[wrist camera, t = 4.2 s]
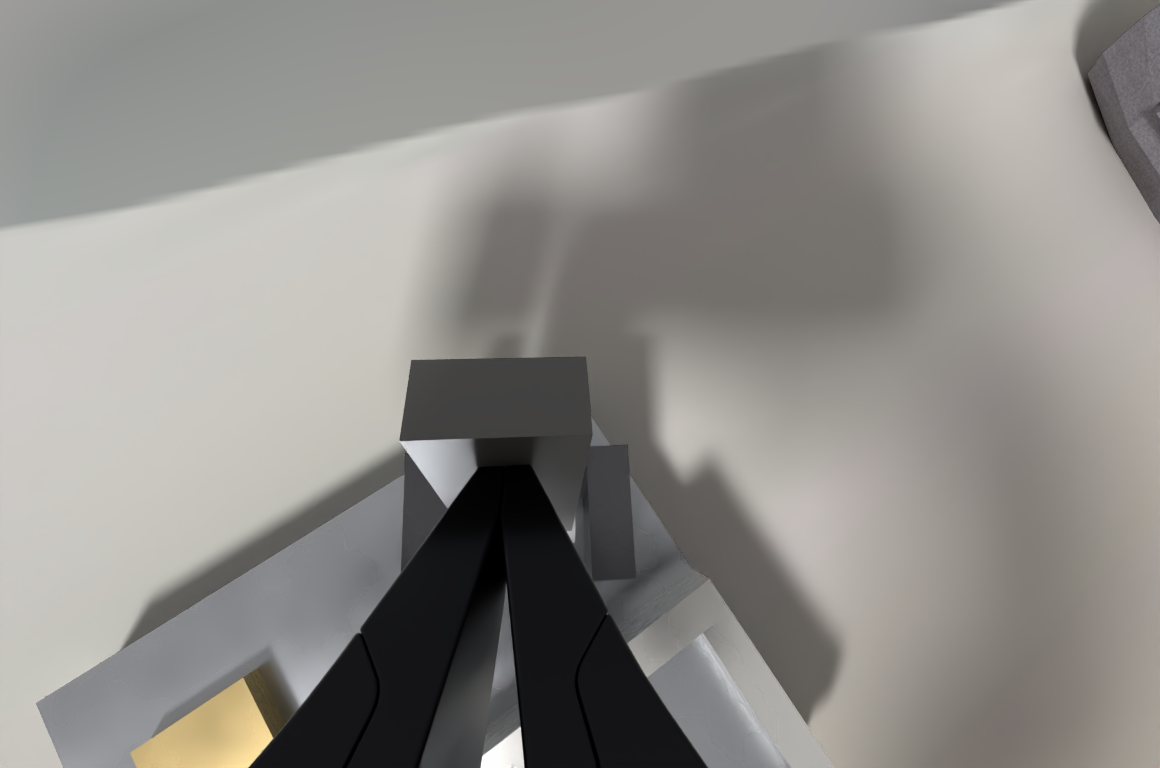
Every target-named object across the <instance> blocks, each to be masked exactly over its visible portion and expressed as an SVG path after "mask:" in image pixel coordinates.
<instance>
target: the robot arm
mask: <svg viewBox="0 0 1160 768" xmlns="http://www.w3.org/2000/svg"><path fill="white" fill-rule="evenodd" d="M506 584H507V594H508V605H509V615H510V625H511V635H512V645H513V656H514V666H515V676H516V686H517V696H518V707H519V717H520V727H521V737H522V747H523V758H524V768H708V766H707V765H706V763H705V762H704V760H703V759H702V758H701V756H700V755H699V753H698V752H697V750H696V749H695V748H694V746H693V745H692V743H691V742H690V740H689V739H688V737H687V736H686V735H685V733H684V732H683V730H682V729H681V727H680V726H679V725H678V723H677V722H676V720H675V719H674V717H673V716H672V714H671V713H670V712H669V710H668V709H667V707H666V706H665V704H664V702H663V701H662V699H661V698H660V696H659V695H658V693H657V692H656V690H655V689H654V687H653V686H652V684H651V683H650V681H649V679H648V678H647V676H646V675H645V673H644V672H643V670H642V668H641V667H640V665H639V663H638V661H637V660H636V658H635V656H634V654H633V653H632V651H631V649H630V648H629V646H628V644H627V642H626V641H625V639H624V637H623V635H622V633H621V632H620V630H619V628H618V626H617V624H616V622H615V620H614V618H613V617H612V615H611V614H609V610H608V608H607V606H606V604H605V602H604V600H603V598H602V597H601V595H600V593H599V591H598V589H597V587H596V585H595V583H594V582H593V580H592V578H591V576H590V574H589V572H588V570H587V568H586V567H585V565H584V563H583V561H582V559H581V557H580V555H579V553H578V552H577V550H576V548H575V546H574V544H573V542H572V540H571V538H570V537H569V535H568V533H567V531H566V529H565V527H564V525H563V524H562V522H561V520H560V518H559V516H558V514H557V512H556V510H555V509H554V507H553V505H552V503H551V501H550V499H549V497H548V495H547V494H546V492H545V490H544V488H543V486H542V484H541V482H540V480H539V479H538V477H537V475H536V473H535V471H534V469H533V467H532V466H531V465H512V466H506V467H503V466H488V467H478V468H477V470H476V471H475V472H474V474H473V475H472V476H471V478H470V479H469V481H468V482H467V483H466V485H465V486H464V487H463V489H462V490H461V491H460V493H459V494H458V495H457V497H456V498H455V500H454V501H453V502H452V504H451V505H450V506H449V508H448V509H447V510H446V512H445V513H444V515H443V516H442V517H441V519H440V520H439V521H438V523H437V524H436V525H435V527H434V528H433V529H432V531H431V532H430V534H429V535H428V536H427V538H426V539H425V540H424V542H423V543H422V544H421V546H420V547H419V549H418V550H417V551H416V553H415V554H414V555H413V557H412V558H411V559H410V561H409V562H408V563H407V565H406V566H405V568H404V569H403V570H402V572H401V573H400V574H399V576H398V577H397V578H396V580H395V581H394V583H393V584H392V585H391V587H390V588H389V589H388V591H387V592H386V593H385V595H384V596H383V597H382V599H381V600H380V602H379V603H378V604H377V606H376V607H375V608H374V610H373V611H372V612H371V614H370V615H369V617H368V618H367V619H366V621H365V622H364V623H363V625H362V626H361V628H360V632H361V633H356V634H355V635H354V636H353V638H352V639H351V641H350V642H349V643H348V645H347V646H346V647H345V649H344V650H343V652H342V653H341V654H340V656H339V657H338V658H337V660H336V661H335V662H334V664H333V665H332V666H331V668H330V669H329V670H328V671H327V673H326V674H325V675H324V677H323V678H322V679H321V680H320V682H319V683H318V684H317V686H316V687H315V688H314V690H313V691H312V692H311V693H310V695H309V696H308V697H307V699H306V700H305V701H304V702H303V704H302V705H301V706H300V707H299V708H298V709H297V711H296V712H295V713H294V714H293V715H292V717H291V718H290V719H289V720H288V721H287V723H286V724H285V725H284V726H283V727H282V728H281V730H280V731H279V732H278V733H277V734H276V736H275V737H274V738H273V739H272V740H271V742H270V743H269V744H268V745H267V746H266V748H265V749H264V750H263V751H262V752H261V753H260V754H259V756H258V757H257V758H256V759H255V760H254V761H253V763H252V764H251V765H250V766H249V767H248V768H481V762H482V755H483V748H484V741H485V734H486V727H487V720H488V713H489V706H490V699H491V692H492V685H493V678H494V671H495V664H496V657H497V650H498V643H499V636H500V629H501V622H502V615H503V608H504V601H505V593H506Z"/></svg>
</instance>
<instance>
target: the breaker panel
mask: <svg viewBox="0 0 1160 768" xmlns="http://www.w3.org/2000/svg"><path fill="white" fill-rule="evenodd" d="M591 420H592V432H593V435H592V440H591V445H590V449H589V454H588V458H587V463H586V468H585V472H584V477H583V481H582V486H581V490H580V495H579V500H578V504H577V509H576V513H575V543H573V544H574V546H575V548H576V550H577V552H578V553H579V555H580V557H581V559H582V561H583V563H584V565H585V567H586V568H587V570H588V572H589V574H590V576H591V578H592V580H593V582H594V583H595V585H596V587H597V589H598V591H599V593H600V595H601V597H602V598H603V600H604V602H605V604H606V606H607V608H608V610H609V614H611V615H612V617H613V618H614V620H615V622H616V624H617V626H618V628H619V630H620V632H621V633H622V635H623V637H624V639H625V641H626V642H627V644H628V646H629V648H630V649H631V651H632V653H633V654H634V656H635V658H636V660H637V661H638V663H639V665H640V667H641V668H642V670H643V672H644V673H645V675H646V676H647V678H648V679H649V681H650V683H651V684H652V686H653V687H654V689H655V690H656V692H657V693H658V695H659V696H660V698H661V699H662V701H663V702H664V704H665V706H666V707H667V709H668V710H669V712H670V713H671V714H672V716H673V717H674V719H675V720H676V722H677V723H678V725H679V726H680V727H681V729H682V730H683V732H684V733H685V735H686V736H687V737H688V739H689V740H690V742H691V743H692V745H693V746H694V748H695V749H696V750H697V752H698V753H699V755H700V756H701V758H702V759H703V760H704V762H705V763H706V765H707V766H708V768H835V766H834V765H833V763H832V762H831V760H830V759H829V757H828V756H827V754H826V753H825V751H824V750H823V748H822V747H821V745H820V744H819V742H818V741H817V739H816V738H815V736H814V735H813V733H812V732H811V730H810V729H809V727H808V726H807V724H806V723H805V721H804V720H803V718H802V717H801V715H800V714H799V712H798V711H797V709H796V708H795V706H794V705H793V703H792V702H791V700H790V699H789V697H788V696H787V694H786V693H785V691H784V690H783V688H782V687H781V685H780V684H779V682H778V681H777V679H776V678H775V676H774V675H773V673H772V672H771V670H770V669H769V667H768V666H767V664H766V663H765V661H764V660H763V658H762V657H761V655H760V654H759V652H758V651H757V649H756V648H755V646H754V645H753V643H752V641H751V640H750V638H749V637H748V635H747V634H746V632H745V631H744V629H743V628H742V626H741V625H740V623H739V622H738V620H737V619H736V617H735V616H734V614H733V613H732V611H731V610H730V608H729V607H728V605H727V604H726V602H725V601H724V599H723V598H722V596H721V595H720V593H719V592H718V590H717V589H716V587H715V586H714V584H713V583H712V581H711V580H710V579H709V578H707V577H706V576H704V575H702V574H701V573H699V572H697V571H696V570H694V569H692V567H691V566H690V564H689V563H688V561H687V560H686V558H685V557H684V555H683V554H682V552H681V551H680V549H679V548H678V546H677V544H676V543H675V541H674V540H673V538H672V537H671V535H670V534H669V532H668V531H667V529H666V528H665V526H664V525H663V523H662V522H661V520H660V519H659V517H658V516H657V514H656V513H655V511H654V510H653V508H652V507H651V505H650V504H649V502H648V501H647V499H646V498H645V496H644V495H643V493H642V492H641V490H640V489H639V487H638V486H637V484H636V483H635V481H634V480H633V478H632V477H631V475H630V474H629V458H628V445H610V443H609V442H608V440H607V439H606V437H605V436H604V434H603V433H602V431H601V430H600V428H599V427H598V425H597V424H596V422H595V421H594V419H593V418H592V416H591ZM447 509H448V508H447V507H446V506H445V504H444V503H443V501H442V500H441V499H440V497H439V496H438V494H437V493H436V492H435V490H434V489H433V487H432V486H431V485H430V483H429V482H428V480H427V479H426V478H425V476H424V475H423V473H422V472H421V471H420V469H419V468H418V466H417V465H416V464H415V462H414V461H413V459H412V458H411V457H410V455H409V454H408V453H405V473H404V475H402V476H400V477H399V478H397V479H395V480H394V481H392V482H391V483H389V484H387V485H386V486H384V487H383V488H381V489H379V490H378V491H376V492H375V493H373V494H371V495H370V496H368V497H367V498H365V499H363V500H362V501H360V502H359V503H357V504H355V505H354V506H352V507H350V508H349V509H347V510H346V511H344V512H342V513H341V514H339V515H338V516H336V517H334V518H333V519H331V520H330V521H328V522H326V523H325V524H323V525H322V526H320V527H318V528H317V529H315V530H314V531H312V532H310V533H309V534H307V535H305V536H304V537H302V538H301V539H299V540H297V541H296V542H294V543H293V544H291V545H289V546H288V547H286V548H285V549H283V550H281V551H280V552H278V553H277V554H275V555H273V556H272V557H270V558H269V559H267V560H265V561H264V562H262V563H260V564H259V565H257V566H256V567H254V568H252V569H251V570H249V571H248V572H246V573H244V574H243V575H241V576H240V577H238V578H236V579H235V580H233V581H232V582H230V583H228V584H227V585H225V586H224V587H222V588H220V589H219V590H217V591H215V592H214V593H212V594H211V595H209V596H207V597H206V598H204V599H203V600H201V601H199V602H198V603H196V604H195V605H193V606H191V607H190V608H188V609H187V610H185V611H183V612H182V613H180V614H179V615H177V616H175V617H174V618H172V619H170V620H169V621H167V622H166V623H164V624H162V625H161V626H159V627H158V628H156V629H154V630H153V631H151V632H150V633H148V634H146V635H145V636H143V637H142V638H140V639H138V640H137V641H135V642H134V643H132V644H130V645H129V646H127V647H125V648H124V649H122V650H121V651H119V652H117V653H116V654H114V655H113V656H111V657H109V658H108V659H106V660H105V661H103V662H101V663H100V664H98V665H97V666H95V667H93V668H92V669H90V670H89V671H87V672H85V673H84V674H82V675H80V676H79V677H77V678H76V679H74V680H72V681H71V682H69V683H68V684H66V685H64V686H63V687H61V688H60V689H58V690H56V691H55V692H53V693H52V694H50V695H48V696H47V697H45V698H44V699H42V700H40V701H39V702H37V703H36V704H37V707H38V709H39V711H40V714H41V716H42V718H43V721H44V723H45V726H46V728H47V730H48V733H49V735H50V737H51V740H52V742H53V744H54V747H55V749H56V751H57V754H58V756H59V758H60V761H61V763H62V765H63V768H248V767H249V766H250V765H251V764H252V763H253V761H254V760H255V759H256V758H257V757H258V756H259V754H260V753H261V752H262V751H263V750H264V749H265V748H266V746H267V745H268V744H269V743H270V742H271V740H272V739H273V738H274V737H275V736H276V734H277V733H278V732H279V731H280V730H281V728H282V727H283V726H284V725H285V724H286V723H287V721H288V720H289V719H290V718H291V717H292V715H293V714H294V713H295V712H296V711H297V709H298V708H299V707H300V706H301V705H302V704H303V702H304V701H305V700H306V699H307V697H308V696H309V695H310V693H311V692H312V691H313V690H314V688H315V687H316V686H317V684H318V683H319V682H320V680H321V679H322V678H323V677H324V675H325V674H326V673H327V671H328V670H329V669H330V668H331V666H332V665H333V664H334V662H335V661H336V660H337V658H338V657H339V656H340V654H341V653H342V652H343V650H344V649H345V647H346V646H347V645H348V643H349V642H350V641H351V639H352V638H353V636H354V635H355V634H356V633H361V632H360V628H361V626H362V625H363V623H364V622H365V621H366V619H367V618H368V617H369V615H370V614H371V612H372V611H373V610H374V608H375V607H376V606H377V604H378V603H379V602H380V600H381V599H382V597H383V596H384V595H385V593H386V592H387V591H388V589H389V588H390V587H391V585H392V584H393V583H394V581H395V580H396V578H397V577H398V576H399V574H400V573H401V572H402V570H403V569H404V568H405V566H406V565H407V563H408V562H409V561H410V559H411V558H412V557H413V555H414V554H415V553H416V551H417V550H418V549H419V547H420V546H421V544H422V543H423V542H424V540H425V539H426V538H427V536H428V535H429V534H430V532H431V531H432V529H433V528H434V527H435V525H436V524H437V523H438V521H439V520H440V519H441V517H442V516H443V515H444V513H445V512H446V510H447ZM481 768H524V758H523V747H522V737H521V727H520V717H519V707H518V696H517V686H516V676H515V666H514V656H513V645H512V635H511V625H510V615H509V605H508V594H507V584H506V593H505V601H504V608H503V615H502V622H501V629H500V636H499V643H498V650H497V657H496V664H495V671H494V678H493V685H492V692H491V699H490V706H489V713H488V720H487V727H486V734H485V741H484V748H483V755H482V762H481Z"/></svg>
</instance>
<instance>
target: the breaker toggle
mask: <svg viewBox="0 0 1160 768" xmlns="http://www.w3.org/2000/svg"><path fill="white" fill-rule="evenodd" d="M592 435H593V432H592V420H591V409H590V398H589V387H588V376H587V364H586V357H545V358H494V359H444V360H411V367H410V374H409V381H408V387H407V394H406V401H405V407H404V414H403V421H402V427H401V434H400V443H401V444H402V446H403V447H404V448H405V450H406V451H407V453H408V454H409V455H410V457H411V458H412V459H413V461H414V462H415V464H416V465H417V466H418V468H419V469H420V471H421V472H422V473H423V475H424V476H425V478H426V479H427V480H428V482H429V483H430V485H431V486H432V487H433V489H434V490H435V492H436V493H437V494H438V496H439V497H440V499H441V500H442V501H443V503H444V504H445V506H446V507H447V508H449V506H450V505H451V504H452V502H453V501H454V500H455V498H456V497H457V495H458V494H459V493H460V491H461V490H462V489H463V487H464V486H465V485H466V483H467V482H468V481H469V479H470V478H471V476H472V475H473V474H474V472H475V471H476V470H477V468H478V467H488V466H503V467H506V466H512V465H531V466H532V467H533V469H534V471H535V473H536V475H537V477H538V479H539V480H540V482H541V484H542V486H543V488H544V490H545V492H546V494H547V495H548V497H549V499H550V501H551V503H552V505H553V507H554V509H555V510H556V512H557V514H558V516H559V518H560V520H561V522H562V524H563V525H564V527H565V529H566V531H567V533H568V535H569V537H570V538H571V540H572V542H573V543H575V513H576V509H577V504H578V500H579V495H580V490H581V486H582V481H583V477H584V472H585V468H586V463H587V458H588V454H589V449H590V445H591V440H592Z"/></svg>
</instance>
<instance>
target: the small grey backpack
mask: <svg viewBox="0 0 1160 768" xmlns="http://www.w3.org/2000/svg"><path fill="white" fill-rule="evenodd" d="M1088 77H1089V80H1090V83H1091V85H1092V88H1093V91H1094V94H1095V97H1096V100H1097V102H1098V105H1099V108H1100V111H1101V114H1102V116H1103V119H1104V122H1105V125H1106V128H1107V130H1108V133H1109V136H1110V139H1111V142H1112V144H1113V147H1114V148H1115V150H1116V152H1117V153H1118V155H1119V157H1120V159H1121V160H1122V162H1123V164H1124V165H1125V167H1126V169H1127V170H1128V172H1129V174H1130V176H1131V177H1132V179H1133V181H1134V182H1135V184H1136V186H1137V187H1138V189H1139V191H1140V193H1141V194H1142V196H1143V198H1144V199H1145V201H1146V203H1147V204H1148V206H1149V208H1150V210H1151V211H1152V213H1153V215H1154V216H1155V218H1156V219H1157V221H1158V222H1159V223H1160V5H1159V6H1158V7H1156V8H1155V9H1153V10H1152V11H1150V12H1149V13H1148V14H1146V15H1145V16H1143V17H1142V18H1141V19H1140V20H1139V21H1138V22H1137V23H1136V24H1134V25H1133V26H1132V27H1131V28H1130V29H1129V30H1128V31H1127V32H1125V33H1124V34H1123V35H1122V36H1121V37H1120V38H1119V39H1117V40H1116V41H1115V42H1114V43H1113V44H1112V45H1111V46H1110V47H1108V48H1107V49H1106V50H1105V51H1104V52H1103V53H1102V54H1101V56H1100V57H1099V59H1098V60H1097V61H1096V63H1095V64H1094V66H1093V67H1092V68H1091V70H1090V71H1089V73H1088Z"/></svg>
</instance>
